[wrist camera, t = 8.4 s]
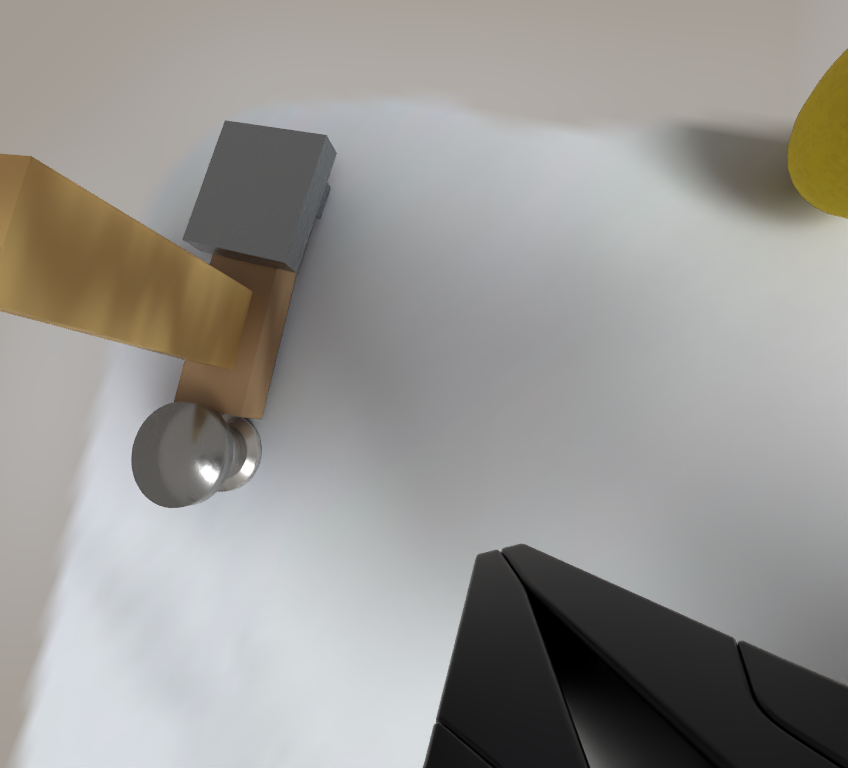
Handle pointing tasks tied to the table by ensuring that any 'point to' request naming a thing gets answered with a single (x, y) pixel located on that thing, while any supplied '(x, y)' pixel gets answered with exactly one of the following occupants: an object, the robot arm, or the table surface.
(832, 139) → the lemon
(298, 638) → the table surface
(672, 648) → the robot arm
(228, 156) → the block
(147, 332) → the link
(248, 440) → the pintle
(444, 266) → the table surface
